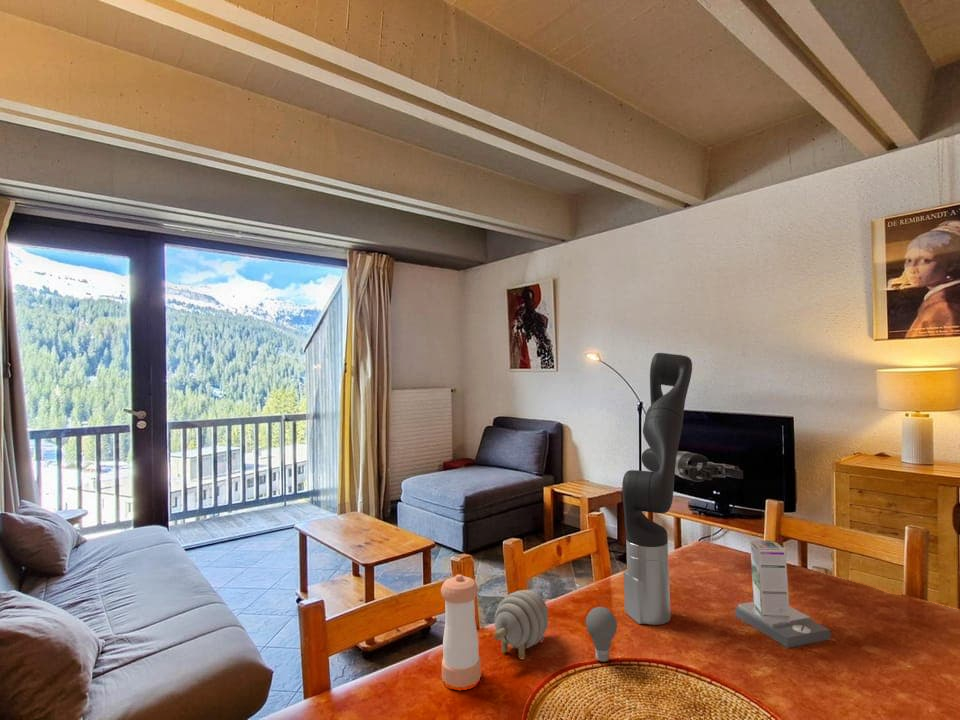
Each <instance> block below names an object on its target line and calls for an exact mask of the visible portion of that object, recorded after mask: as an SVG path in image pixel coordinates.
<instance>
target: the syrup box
mask: <svg viewBox="0 0 960 720" xmlns="http://www.w3.org/2000/svg"><path fill="white" fill-rule="evenodd" d="M749 544H750V546H749V547H750V563H751V578H752V580H751V581H752V583H751V584H752V597H753V599H752V600H753V601H752V602H754V605H755V606H756V607H757V608H758V610H759V611H760V612H761V614H762V615H769V616H788V617H789V616H790V614H789V606H790V599H789V581H788V567H787V553H786V552H787V551H786V549H785V548H784V547H783V546H782V545H780V544H779V543H778V542H776V541H775V540H774V541H773V540H750V542H749Z"/></svg>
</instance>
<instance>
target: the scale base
mask: <svg viewBox="0 0 960 720" xmlns="http://www.w3.org/2000/svg"><path fill="white" fill-rule="evenodd" d="M734 613H735V617H736V618H738V619H740V620H741V621H743V622H744V623H746V624H747V625H749V626H751V627H753V628H754V629H756V630H758V631H759V632H761V633H762V634H764V635H765V636H767V637H769V638H771V640H773V641H776V643H779V644H780V645H782V646H783V647H785V648H787V649H789V648H793V647H794V648H795V647H800V646H804V645H810V644H813V643H819V642H824V641H828V640H829V641H830V640H831V630H830V629H829V628H828V627H826V626H824V625H822V624H821V623H818V622H816V621H814V620H812V619H811V621H808V622H802V623H797V624H792V625H786V626H781V627H775V628H772V627H770V626H769V625H767V624H765V623H763V622H762V621H760V620H758V619H757V618H755V617H753V616H752V615H750V614H748V613H747V612H745V611H743V610H741V609H740V608H738V606H735V610H734Z"/></svg>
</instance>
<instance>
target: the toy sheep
mask: <svg viewBox="0 0 960 720" xmlns="http://www.w3.org/2000/svg"><path fill="white" fill-rule="evenodd" d="M546 601H547V600H545V599H543V597H542V596H540V594H539V593H537V592H536V591H533V590H531V589H523V590H517V591H514V592H511V593H509V594H508V595H506V596H505V597H504V598H503V599H502V600H501V601H500V602H499V604H498V605H497V609H496V611H495V614H494V626H495V630H496V631H495V632H494V634H493V636H494V639H495V640H497V641H500V640H501V641H500V643H501V644H500V645H501V652H502V651H503V652H506V651H508V652H509V650H508V649H509V648H508V647H509V646H508V645H510V646H511V647H514V648H516V649H517V650H518V652H517V653H518V658H519V657H520V658H524V659H526V649H529V648H531V647H533V646H535V645H537V644H539V643H540V642H539V641H543V642H544V634H545V633H546V631H547V629H548V623H549V619H548V617H549V612H548V611H549V610H548V606H547V604H546Z"/></svg>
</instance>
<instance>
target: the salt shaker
mask: <svg viewBox="0 0 960 720" xmlns="http://www.w3.org/2000/svg"><path fill="white" fill-rule="evenodd" d="M440 594H441V597H442V599H443V600H444V601H445V609H444V610H445V613H444V615H445V622H444V631H443V639H442V648H443V657H442V661H441V680H442V679H443V681H445V683H447V684H449V685H451V686H455V687H466V686H470V685H472V684H475V683H476V682H477V681H478V680H479V679H480V677H481V678H482V669H481V668H482V666H481V664H482V661H481V657H480V655H479V636H478V630H477V623H476V617H475V615H476V613H475V612H476V611H475V599H476V598H477V596H478V594H479V587H478V584H477V583H476V581H475V579H474V578H472V577H469V576H464V575H463V574H460V573H458V574H456V575H455V576H453V577H450V578H447V579H446V580H445V581H444V582H443V583H442V585H441V588H440Z"/></svg>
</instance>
